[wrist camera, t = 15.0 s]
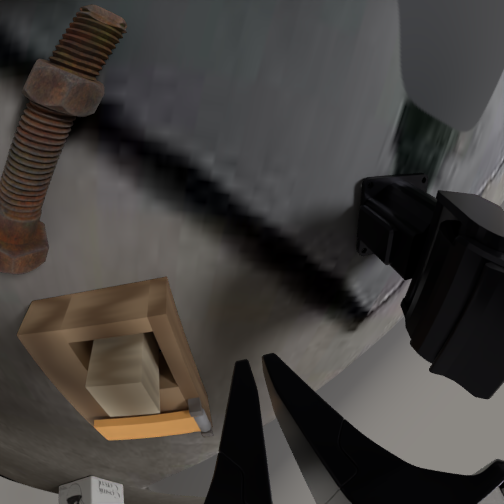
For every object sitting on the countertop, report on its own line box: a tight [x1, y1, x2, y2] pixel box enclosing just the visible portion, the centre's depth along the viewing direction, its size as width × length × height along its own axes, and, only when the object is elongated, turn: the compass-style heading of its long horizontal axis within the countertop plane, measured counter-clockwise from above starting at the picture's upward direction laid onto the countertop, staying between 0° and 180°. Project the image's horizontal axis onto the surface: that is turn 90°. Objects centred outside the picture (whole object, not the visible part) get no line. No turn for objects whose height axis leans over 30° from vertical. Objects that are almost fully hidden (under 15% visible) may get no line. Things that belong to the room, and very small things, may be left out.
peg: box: [85, 331, 160, 417], centre depth 20 cm, size 4×4×7 cm
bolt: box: [0, 4, 127, 274], centre depth 12 cm, size 6×5×15 cm
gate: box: [94, 408, 211, 440], centre depth 23 cm, size 11×3×1 cm, turn 95°
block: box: [17, 277, 213, 437], centre depth 22 cm, size 12×16×5 cm
